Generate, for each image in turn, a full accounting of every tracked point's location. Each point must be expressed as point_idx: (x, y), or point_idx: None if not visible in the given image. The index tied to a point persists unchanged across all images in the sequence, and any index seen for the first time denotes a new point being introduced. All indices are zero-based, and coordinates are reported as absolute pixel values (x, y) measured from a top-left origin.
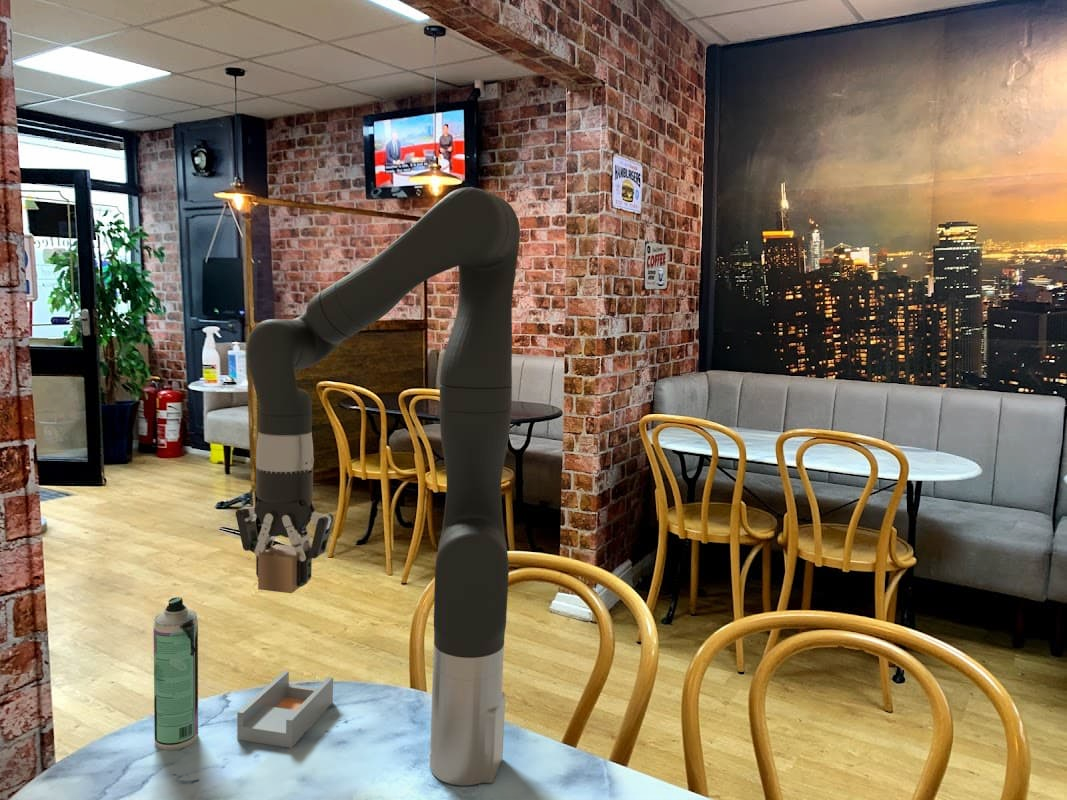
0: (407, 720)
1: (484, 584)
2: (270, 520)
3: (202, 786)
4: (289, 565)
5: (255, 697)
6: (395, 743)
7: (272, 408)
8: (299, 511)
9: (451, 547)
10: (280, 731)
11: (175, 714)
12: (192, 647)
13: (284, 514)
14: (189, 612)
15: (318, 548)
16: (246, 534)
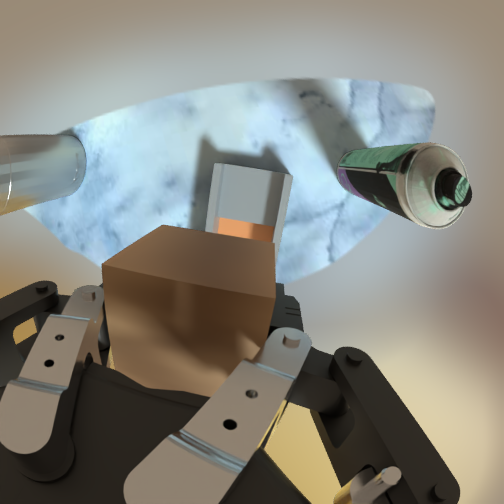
0: (121, 236)
1: None
2: (156, 468)
3: (290, 86)
4: (128, 253)
5: (283, 217)
6: (120, 190)
7: None
8: None
9: None
10: (233, 167)
11: (363, 149)
12: (381, 166)
13: (61, 483)
14: (422, 190)
15: (15, 294)
16: (369, 403)
